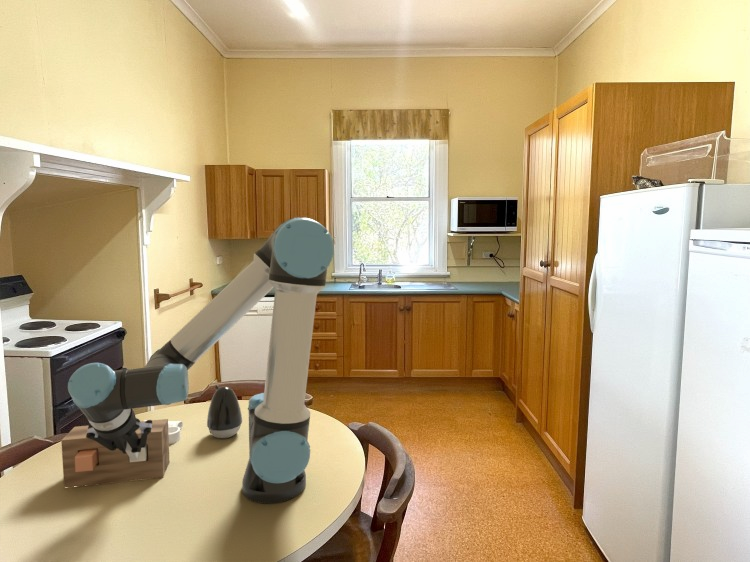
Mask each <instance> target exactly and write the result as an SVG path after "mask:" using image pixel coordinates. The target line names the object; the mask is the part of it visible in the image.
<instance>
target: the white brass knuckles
mask: <svg viewBox="0 0 750 562" xmlns="http://www.w3.org/2000/svg"><path fill="white" fill-rule="evenodd" d="M147 420H148V419H145V420H144V421H147ZM183 425H184V423H183V422H182V421H181V420H177V421H175V420H172V421H171V420H168V433H169V445H173V444H175V443H177V441H178V442H179V441H180V440H181V438H182V437H181V434H182V433H181V431H182V427H183ZM180 429H181V430H180Z"/></svg>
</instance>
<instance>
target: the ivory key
mask: <svg viewBox="0 0 750 562" xmlns="http://www.w3.org/2000/svg"><path fill="white" fill-rule="evenodd" d="M147 457H148V444H146V447H144V448H141V452H140V454H139V460H135V461H132V460H131V459H130V462H138V461H146V459H147ZM129 458H130V457H129Z"/></svg>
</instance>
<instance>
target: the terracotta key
mask: <svg viewBox="0 0 750 562" xmlns="http://www.w3.org/2000/svg"><path fill="white" fill-rule="evenodd" d="M98 462H99V455H98V448H96V449H85V450H81V451H80V452H79V453H78V454H77V455H76V457H75V472H82V471H91V470H93V469H94V468H95V466H96V465H97V464H98Z"/></svg>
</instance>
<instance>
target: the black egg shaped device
mask: <svg viewBox="0 0 750 562" xmlns="http://www.w3.org/2000/svg"><path fill="white" fill-rule="evenodd" d="M214 388H215V392H214V393H213V395H212V398H211V401H210V403H209V408H208V413H207V418H206V420H207V421H206V427H207V428H208V431H209V433H210V435H212V436H213V437H214V438H217V439H228V438H230V437H233V436H235V435H236V434H237V433H238V432H239V430H240V429H241V426H242V423H243V417H242V411H241V406H240V403H239V400H238V397H237V395H236V393H235V392H234V390H233V389H232V388H231V387H229V386H227V385H226V386H225V385H224V386H219V385H217V384H216V385H215V386H214Z"/></svg>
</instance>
